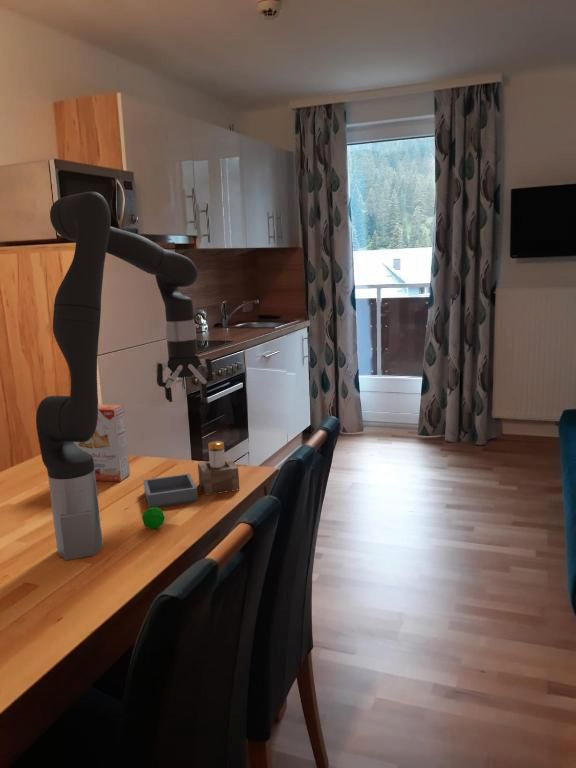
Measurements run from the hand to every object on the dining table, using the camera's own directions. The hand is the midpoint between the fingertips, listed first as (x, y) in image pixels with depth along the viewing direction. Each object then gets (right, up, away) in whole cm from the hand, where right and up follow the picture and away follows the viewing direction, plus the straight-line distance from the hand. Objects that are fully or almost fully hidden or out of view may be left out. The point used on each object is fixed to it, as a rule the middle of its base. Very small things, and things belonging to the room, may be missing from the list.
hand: (186, 399), depth 167 cm
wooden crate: (+8, -23, +3) cm, 25 cm away
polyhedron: (-4, -29, -21) cm, 36 cm away
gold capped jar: (+8, -23, +3) cm, 25 cm away
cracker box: (-26, -23, +14) cm, 37 cm away
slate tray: (-4, -25, -3) cm, 25 cm away
